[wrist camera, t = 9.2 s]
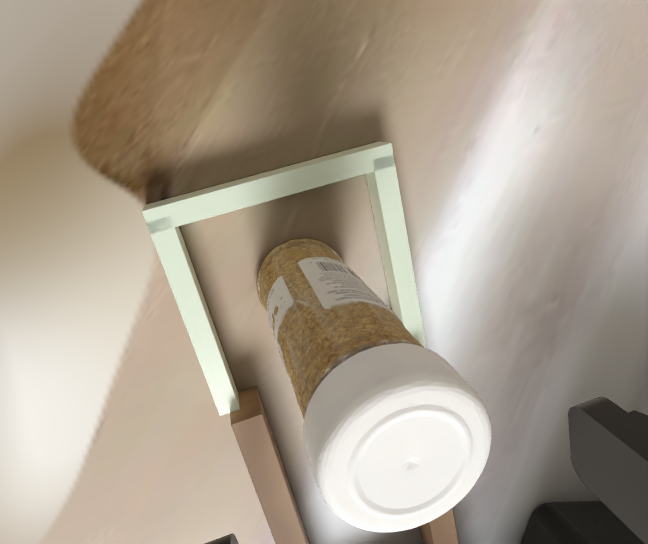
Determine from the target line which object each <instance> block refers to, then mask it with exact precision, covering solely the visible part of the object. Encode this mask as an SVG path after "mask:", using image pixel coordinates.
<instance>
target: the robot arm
mask: <svg viewBox="0 0 648 544" xmlns="http://www.w3.org/2000/svg"><path fill="white" fill-rule="evenodd" d="M568 419H569V435H570V451H571V460H572V464H573V467H574V469H575V471H576V473H577V475H578V476H579V478H580V479H581V481H582V482H583V483H584V484H585V485H586V486H587V487H588V488H589V489H590V490H591V491H592V492H593V493H594V494H595V495H596V496H597V497H598V498H599V499H600V500H601V501H602V502H603V503H604V504H605V505H606V506H607V507H608V508H609V509H610V510H611V511H612V512H613V513H614V514H615V515H616V516H617V517H618V518H619V519H620V520H621V521H622V522H623V523H624V524H625V525H626V526H627V527H628V528H629V529H630V530H631V531H632V532H633V533H634V534H635V535H636V536H637V537H638V538H639V539H641V540H642V541H643V542H644V543H645V544H648V416H647V415H645V414H642V413H639V412H637V411H631V412H629V413H627V412H626V411H624V410H623V409H622V408H620V407H619V406H617V405H616V404H615V403H613V402H612V401H610V400H609V399H607V398H604V397H598V398H595V399H593V400H590V401H587V402H585V403H582V404H580V405H577V406H574V407H572V408H570V410H569V413H568ZM205 544H238V541H237V539H236V537H235V535H234V534H233V533H232V534H229V535H227V536H224V537H221V538H219V539H216V540H213V541H211V542H208V543H205Z"/></svg>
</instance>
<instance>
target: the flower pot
mask: <svg viewBox="0 0 648 544" xmlns="http://www.w3.org/2000/svg"><path fill="white" fill-rule="evenodd" d="M522 544H645V543H644V542H643V541H642V540H641V539H639V538H638V537H637V536H636V535H635V534H634V533H633V532H632V531H631V530H630V529H629V528H628V527H627V526H626V525H625V524H624V523H623V522H622V521H621V520H620V519H619V518H618V517H617V516H616V515H615V514H614V513H613V512H612V511H611V510H610V509H609V508H608V507H607V506H606V505H605V504H604V503H603V502H575V503H548V504H544V505H542V506H540V507H539V508H538V509H537V510H535V512H534V513H533V515H532V518H531V521H530V523H529V526H528V528H527V531H526V534H525V537H524V540H523V542H522Z"/></svg>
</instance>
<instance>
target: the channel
mask: <svg viewBox="0 0 648 544" xmlns="http://www.w3.org/2000/svg"><path fill="white" fill-rule="evenodd" d="M238 397H239V405H240V409H239V410H236V411H233V412H230V418H231V426H232V429H233V431H234V434H235V437H236V439H237V442H238V445H239V447H240V450H241V453H242V455H243V458H244V461H245V463H246V466H247V469H248V471H249V474H250V477H251V479H252V482H253V485H254V487H255V490H256V493H257V495H258V498H259V501H260V503H261V506H262V509H263V511H264V514H265V517H266V519H267V522H268V525H269V527H270V530H271V533H272V535H273V538H274V541H275V543H276V544H310V543H309V540H308V538H307V535H306V532H305V529H304V526H303V523H302V520H301V517H300V514H299V511H298V508H297V505H296V502H295V499H294V496H293V493H292V490H291V487H290V484H289V481H288V478H287V475H286V472H285V469H284V466H283V463H282V460H281V457H280V455H279V452H278V449H277V446H276V443H275V440H274V437H273V434H272V431H271V428H270V425H269V422H268V419H267V416H266V413H265V410H264V407H263V404H262V401H261V398H260V395H259V392H258V389H257V386H256V387H253V388H250V389H247V390H244V391H241V392H238ZM420 531H421V536H422V539H423V541H424V543H425V544H458V538H457V533H456V527H455V521H454V516H453V510H452V508H451V509H450V510H448V511H447V512H446V513H444V514H443V515H441V516H439V517H438V518H436V519H434V520H432V521H430V522H428V523H426V524H423V525H421V526H420Z"/></svg>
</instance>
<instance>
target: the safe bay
mask: <svg viewBox="0 0 648 544" xmlns="http://www.w3.org/2000/svg"><path fill="white" fill-rule="evenodd" d="M363 174H365V175H366V181H367V186H368V191H369V196H370V201H371V206H372V211H373V216H374V221H375V226H376V231H377V236H378V241H379V246H380V252H381V257H382V262H383V267H384V272H385V277H386V282H387V287H388V292H389V297H390V302H391V307H392V311H393V312H394V314H395V315H396V316H397V317H398V318H399V319H400V320H401V321H402V323H403V325H404V326H405V328H406V329H407V330H408V331H409V332H410V333H411V335H412V336H413V337H414V338H415V339H416V340H417V341H418V342H419V343H420V344H421V345H422V346H425V345H426V341H425V335H424V329H423V323H422V318H421V312H420V306H419V300H418V294H417V289H416V283H415V277H414V271H413V265H412V260H411V254H410V248H409V242H408V237H407V231H406V225H405V219H404V213H403V208H402V202H401V196H400V190H399V184H398V179H397V173H396V167H395V161H394V155H393V150H392V144H391V143H388V142H381V141H379V142H375V143H371V144H368V145H364V146H360V147H357V148H353V149H349V150H345V151H342V152H338V153H334V154H331V155H327V156H323V157H320V158H316V159H312V160H309V161H305V162H301V163H298V164H294V165H290V166H287V167H283V168H279V169H275V170H272V171H268V172H264V173H261V174H257V175H253V176H250V177H246V178H242V179H239V180H235V181H231V182H228V183H224V184H220V185H217V186H213V187H209V188H205V189H202V190H198V191H194V192H191V193H187V194H183V195H180V196H176V197H172V198H169V199H165V200H161V201H158V202H154V203H150V204H147V205H145V207H144V209H143V210H142V213H143V215H144V218H145V221H146V223H147V226H148V229H149V231H150V234H151V236H152V239H153V242H154V244H155V247H156V249H157V252H158V255H159V257H160V260H161V263H162V265H163V268H164V270H165V273H166V276H167V278H168V281H169V284H170V286H171V289H172V291H173V294H174V297H175V299H176V302H177V304H178V307H179V310H180V312H181V315H182V318H183V320H184V323H185V325H186V328H187V331H188V333H189V336H190V339H191V341H192V344H193V346H194V349H195V352H196V354H197V357H198V359H199V362H200V365H201V367H202V370H203V373H204V375H205V378H206V380H207V383H208V386H209V388H210V391H211V394H212V396H213V399H214V401H215V404H216V407H217V409H218V412H219V414H220V416H221V415H224V414H227V413H230V412H233V411H236V410H239V409H240V405H239V397H238V391H237V389H236V386H235V383H234V380H233V377H232V375H231V372H230V369H229V366H228V363H227V361H226V358H225V355H224V352H223V349H222V347H221V344H220V341H219V338H218V335H217V333H216V330H215V327H214V324H213V321H212V319H211V316H210V313H209V310H208V307H207V304H206V302H205V299H204V296H203V293H202V290H201V288H200V285H199V282H198V279H197V276H196V274H195V271H194V268H193V265H192V262H191V260H190V257H189V254H188V251H187V248H186V246H185V243H184V240H183V237H182V234H181V232H180V229H179V226H181V225H185V224H188V223H192V222H195V221H199V220H203V219H206V218H210V217H213V216H217V215H220V214H224V213H228V212H231V211H235V210H238V209H242V208H245V207H249V206H252V205H256V204H260V203H263V202H267V201H270V200H274V199H277V198H281V197H285V196H288V195H292V194H295V193H299V192H302V191H306V190H309V189H313V188H317V187H320V186H324V185H327V184H331V183H334V182H338V181H341V180H345V179H349V178H352V177H356V176H359V175H363Z"/></svg>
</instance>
